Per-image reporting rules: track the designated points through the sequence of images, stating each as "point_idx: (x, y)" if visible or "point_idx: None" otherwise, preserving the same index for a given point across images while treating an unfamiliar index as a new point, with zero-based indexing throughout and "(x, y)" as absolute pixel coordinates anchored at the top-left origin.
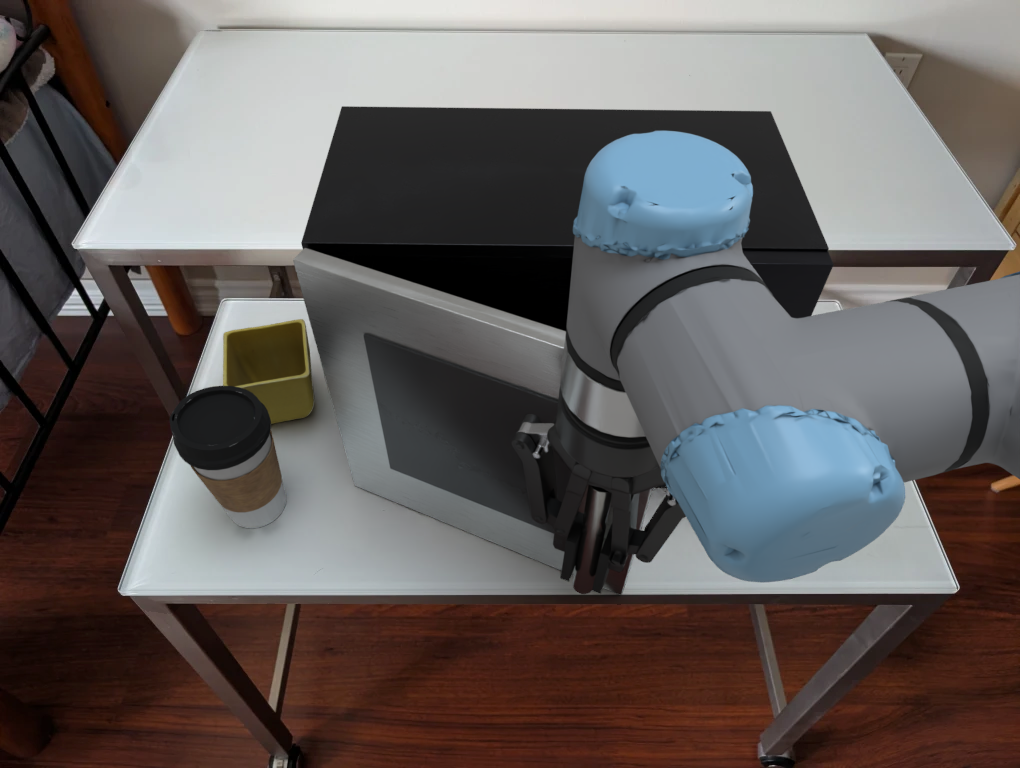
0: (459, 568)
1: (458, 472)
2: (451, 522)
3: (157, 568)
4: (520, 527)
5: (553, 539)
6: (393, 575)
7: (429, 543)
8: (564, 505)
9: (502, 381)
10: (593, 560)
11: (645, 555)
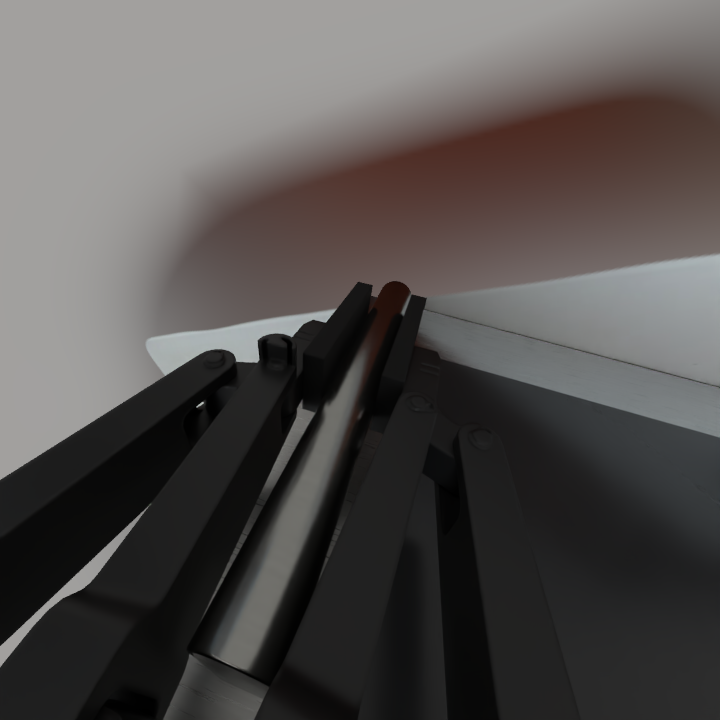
0: (575, 299)
1: (623, 455)
2: (586, 356)
3: None
4: (494, 362)
5: (439, 372)
6: (694, 274)
7: (621, 326)
8: (393, 533)
9: None
10: (360, 336)
11: (204, 367)
